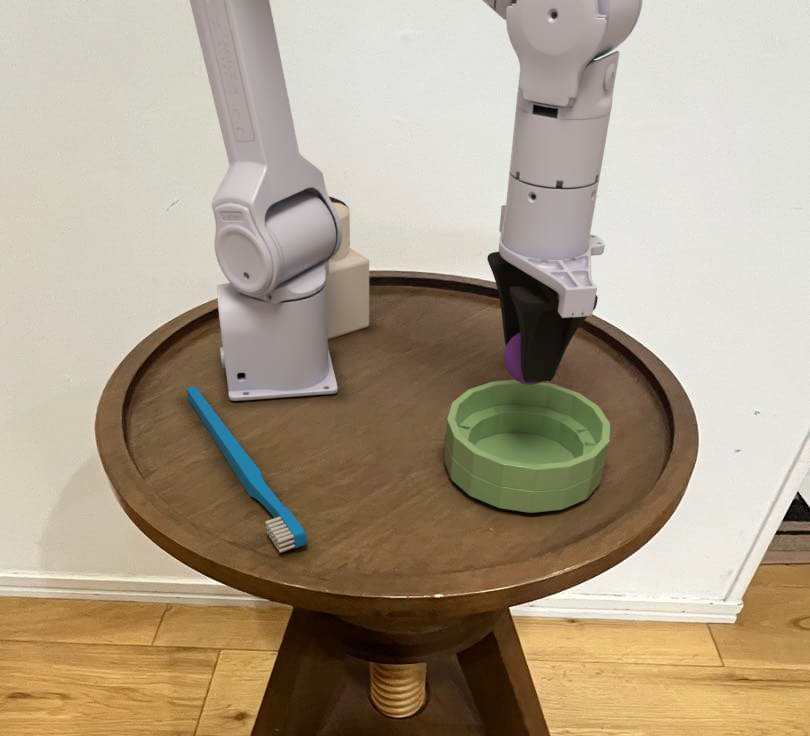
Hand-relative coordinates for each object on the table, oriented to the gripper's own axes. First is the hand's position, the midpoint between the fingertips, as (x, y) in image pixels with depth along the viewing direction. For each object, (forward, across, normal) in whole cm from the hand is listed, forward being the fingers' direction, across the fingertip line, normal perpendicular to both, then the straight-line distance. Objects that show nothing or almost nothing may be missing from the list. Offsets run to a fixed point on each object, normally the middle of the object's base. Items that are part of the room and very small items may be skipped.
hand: (528, 364), depth 63 cm
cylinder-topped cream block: (+9, +26, +13) cm, 30 cm away
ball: (-1, 0, 0) cm, 1 cm away
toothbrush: (+8, +2, +21) cm, 23 cm away
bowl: (+8, -1, 0) cm, 9 cm away
